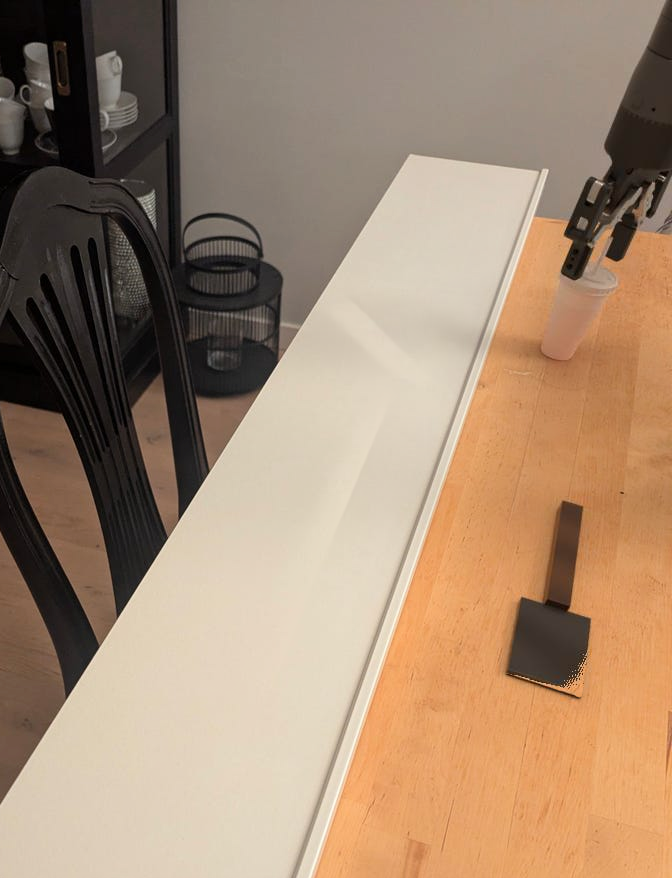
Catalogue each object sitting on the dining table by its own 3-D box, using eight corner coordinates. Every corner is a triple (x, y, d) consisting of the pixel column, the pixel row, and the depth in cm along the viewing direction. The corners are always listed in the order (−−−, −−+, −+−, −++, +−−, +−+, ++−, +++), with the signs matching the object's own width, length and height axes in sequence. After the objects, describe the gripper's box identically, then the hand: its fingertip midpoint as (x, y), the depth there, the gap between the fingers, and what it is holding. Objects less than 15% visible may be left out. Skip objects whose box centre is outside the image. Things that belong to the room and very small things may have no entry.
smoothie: (552, 370, 105) (604, 252, 95) (518, 341, 109) (564, 224, 99) (594, 362, 107) (649, 245, 97) (559, 334, 111) (609, 218, 101)
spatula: (537, 503, 89) (541, 493, 88) (599, 521, 87) (604, 512, 87) (505, 674, 73) (510, 664, 72) (580, 698, 72) (586, 689, 71)
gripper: (658, 133, 83) (584, 299, 95) (732, 108, 90) (654, 266, 102) (588, 104, 87) (526, 268, 99) (665, 82, 93) (597, 238, 106)
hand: (591, 267), depth 100 cm, fingers open, 8 cm apart
